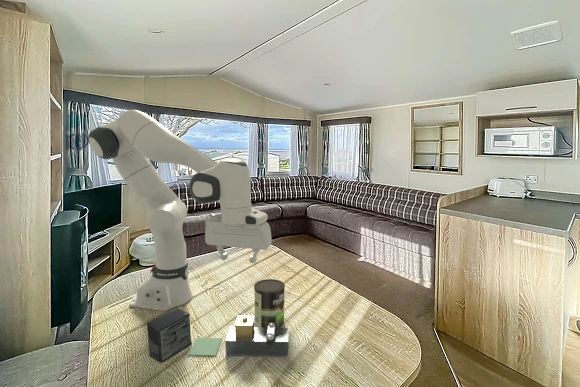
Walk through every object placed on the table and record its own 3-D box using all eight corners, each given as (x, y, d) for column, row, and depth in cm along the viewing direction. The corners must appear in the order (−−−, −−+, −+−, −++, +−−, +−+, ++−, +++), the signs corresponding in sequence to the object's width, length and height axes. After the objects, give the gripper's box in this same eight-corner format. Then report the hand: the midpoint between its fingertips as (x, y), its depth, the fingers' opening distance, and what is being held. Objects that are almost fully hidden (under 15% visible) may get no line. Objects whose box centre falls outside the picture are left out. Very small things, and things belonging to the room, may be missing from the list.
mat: (187, 355, 91) (187, 354, 91) (196, 338, 99) (196, 337, 99) (215, 356, 91) (215, 355, 91) (221, 339, 99) (221, 338, 99)
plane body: (225, 356, 91) (225, 341, 90) (230, 341, 98) (230, 326, 97) (288, 358, 90) (288, 342, 90) (288, 342, 98) (288, 327, 97)
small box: (179, 337, 100) (177, 306, 98) (192, 344, 96) (191, 313, 94) (147, 355, 91) (145, 322, 89) (161, 364, 87) (159, 329, 86)
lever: (265, 349, 86) (265, 338, 85) (268, 331, 94) (268, 321, 94) (273, 349, 86) (273, 338, 85) (275, 331, 94) (275, 321, 93)
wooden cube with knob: (235, 337, 91) (234, 323, 91) (238, 327, 96) (237, 313, 96) (252, 337, 91) (252, 323, 91) (254, 328, 96) (254, 314, 96)
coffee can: (290, 321, 109) (290, 283, 107) (273, 336, 100) (273, 295, 98) (266, 312, 114) (266, 276, 112) (248, 326, 106) (247, 287, 104)
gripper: (199, 215, 91) (202, 261, 93) (264, 219, 85) (266, 268, 87) (210, 211, 97) (213, 254, 99) (272, 214, 91) (274, 260, 93)
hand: (238, 260), depth 93 cm, fingers open, 8 cm apart
